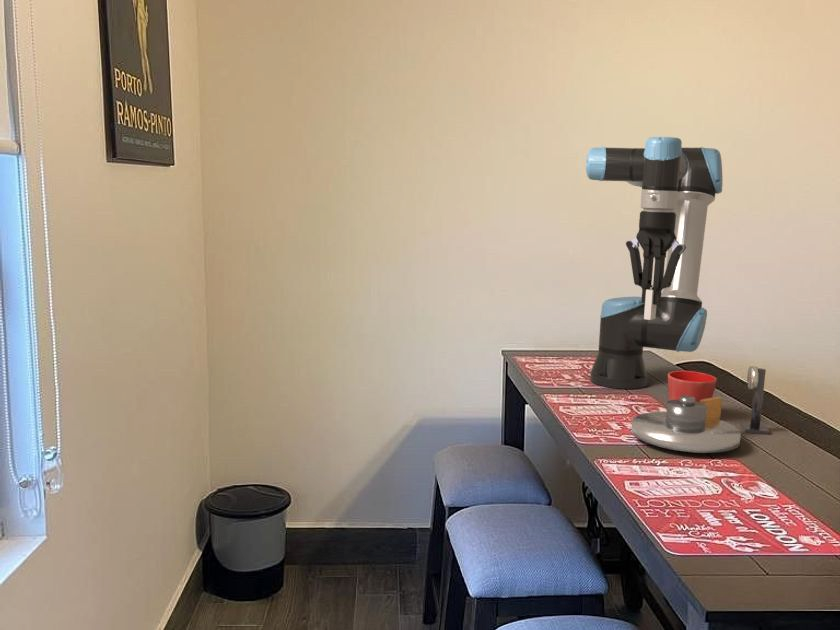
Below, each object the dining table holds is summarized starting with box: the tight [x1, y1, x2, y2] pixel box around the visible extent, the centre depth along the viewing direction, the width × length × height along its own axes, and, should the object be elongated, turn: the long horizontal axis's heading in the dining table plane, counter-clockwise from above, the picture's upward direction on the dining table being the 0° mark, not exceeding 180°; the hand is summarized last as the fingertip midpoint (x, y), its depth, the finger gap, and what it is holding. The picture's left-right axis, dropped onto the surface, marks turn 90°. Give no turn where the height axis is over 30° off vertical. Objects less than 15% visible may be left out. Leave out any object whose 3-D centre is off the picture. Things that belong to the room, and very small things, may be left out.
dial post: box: [740, 365, 770, 436], centre depth 185 cm, size 5×5×14 cm
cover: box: [665, 396, 707, 433], centre depth 175 cm, size 8×8×6 cm
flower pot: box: [667, 370, 718, 402], centre depth 195 cm, size 11×11×10 cm
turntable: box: [630, 396, 742, 454], centre depth 176 cm, size 22×22×7 cm
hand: (649, 318), depth 183 cm, fingers closed
